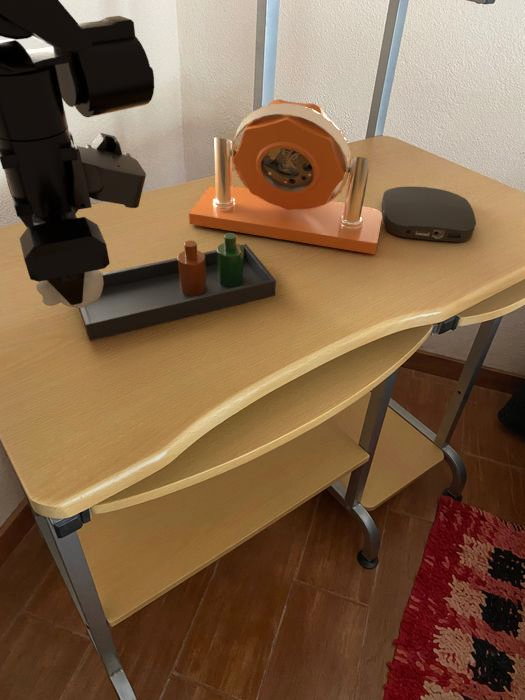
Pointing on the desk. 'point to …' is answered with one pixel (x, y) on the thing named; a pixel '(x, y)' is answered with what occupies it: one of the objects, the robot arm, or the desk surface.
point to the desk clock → (290, 181)
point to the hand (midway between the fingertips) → (71, 287)
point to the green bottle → (230, 261)
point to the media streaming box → (427, 214)
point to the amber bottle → (192, 270)
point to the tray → (168, 295)
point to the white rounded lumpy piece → (90, 291)
